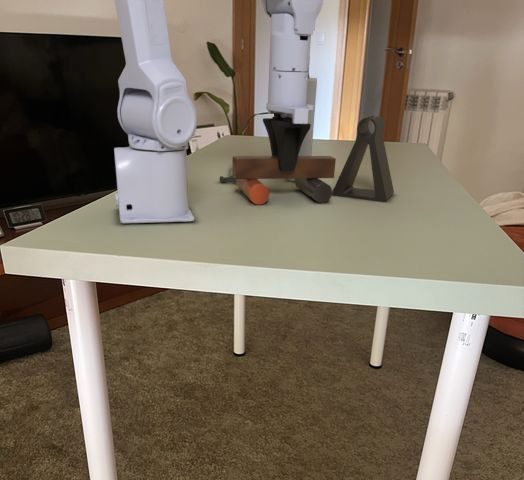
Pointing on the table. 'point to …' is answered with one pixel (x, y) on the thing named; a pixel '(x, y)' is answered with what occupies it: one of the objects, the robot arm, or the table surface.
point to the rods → (308, 185)
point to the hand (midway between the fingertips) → (283, 168)
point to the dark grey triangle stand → (378, 162)
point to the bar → (270, 168)
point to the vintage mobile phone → (309, 119)
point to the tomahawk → (228, 178)
